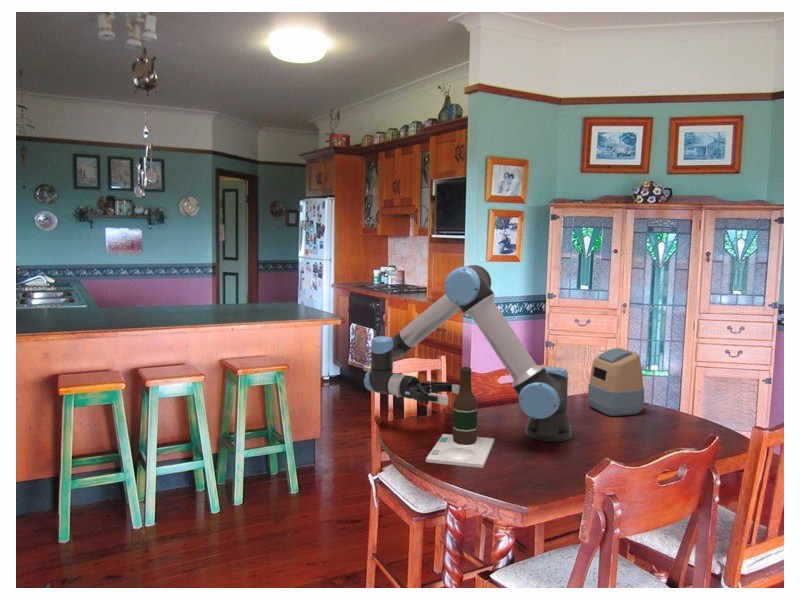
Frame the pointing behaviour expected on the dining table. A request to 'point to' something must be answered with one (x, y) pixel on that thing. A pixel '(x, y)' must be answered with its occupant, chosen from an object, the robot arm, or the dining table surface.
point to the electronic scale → (460, 452)
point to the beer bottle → (465, 411)
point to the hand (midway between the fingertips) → (459, 395)
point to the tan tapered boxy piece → (616, 383)
